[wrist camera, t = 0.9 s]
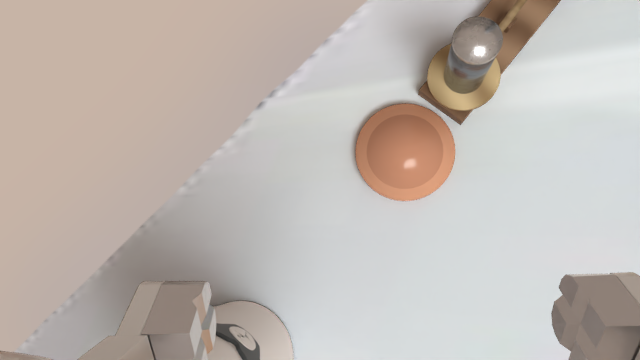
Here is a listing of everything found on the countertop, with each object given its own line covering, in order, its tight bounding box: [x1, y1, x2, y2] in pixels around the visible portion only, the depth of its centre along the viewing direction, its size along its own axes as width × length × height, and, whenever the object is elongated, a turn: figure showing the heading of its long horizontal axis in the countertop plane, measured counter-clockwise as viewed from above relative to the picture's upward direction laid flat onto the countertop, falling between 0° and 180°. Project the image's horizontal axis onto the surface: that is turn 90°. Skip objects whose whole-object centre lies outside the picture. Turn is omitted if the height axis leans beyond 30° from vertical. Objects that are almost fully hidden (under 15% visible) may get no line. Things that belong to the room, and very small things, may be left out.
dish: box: [356, 104, 455, 201], centre depth 64 cm, size 13×13×1 cm
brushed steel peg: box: [444, 16, 503, 94], centre depth 56 cm, size 5×5×11 cm
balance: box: [418, 0, 561, 125], centre depth 61 cm, size 27×9×8 cm, turn 141°
